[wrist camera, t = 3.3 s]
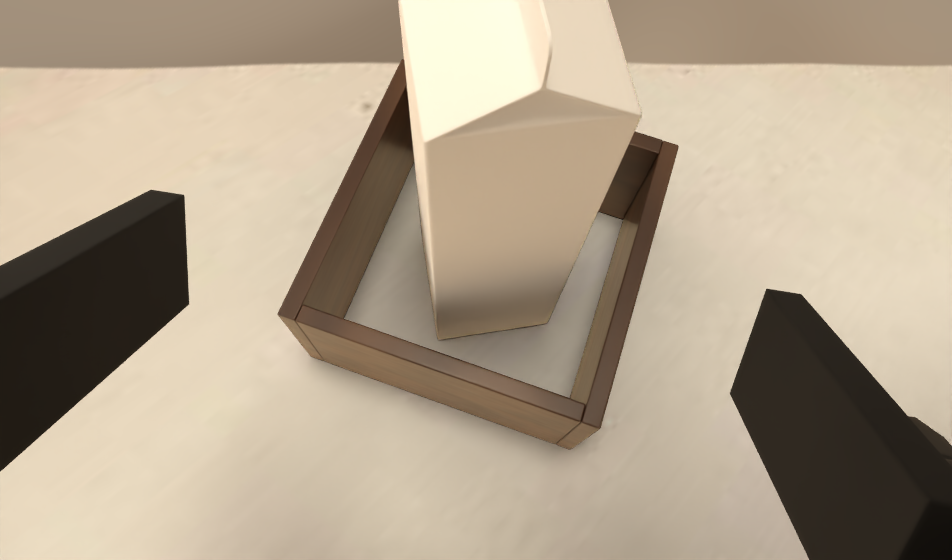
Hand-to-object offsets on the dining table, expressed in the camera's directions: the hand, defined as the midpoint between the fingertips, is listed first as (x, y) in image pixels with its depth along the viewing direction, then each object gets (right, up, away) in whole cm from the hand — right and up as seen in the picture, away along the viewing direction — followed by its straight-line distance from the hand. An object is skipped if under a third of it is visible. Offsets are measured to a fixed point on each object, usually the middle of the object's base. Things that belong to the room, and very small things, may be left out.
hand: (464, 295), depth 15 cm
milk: (+1, 0, +21) cm, 21 cm away
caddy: (+1, 0, +21) cm, 21 cm away
